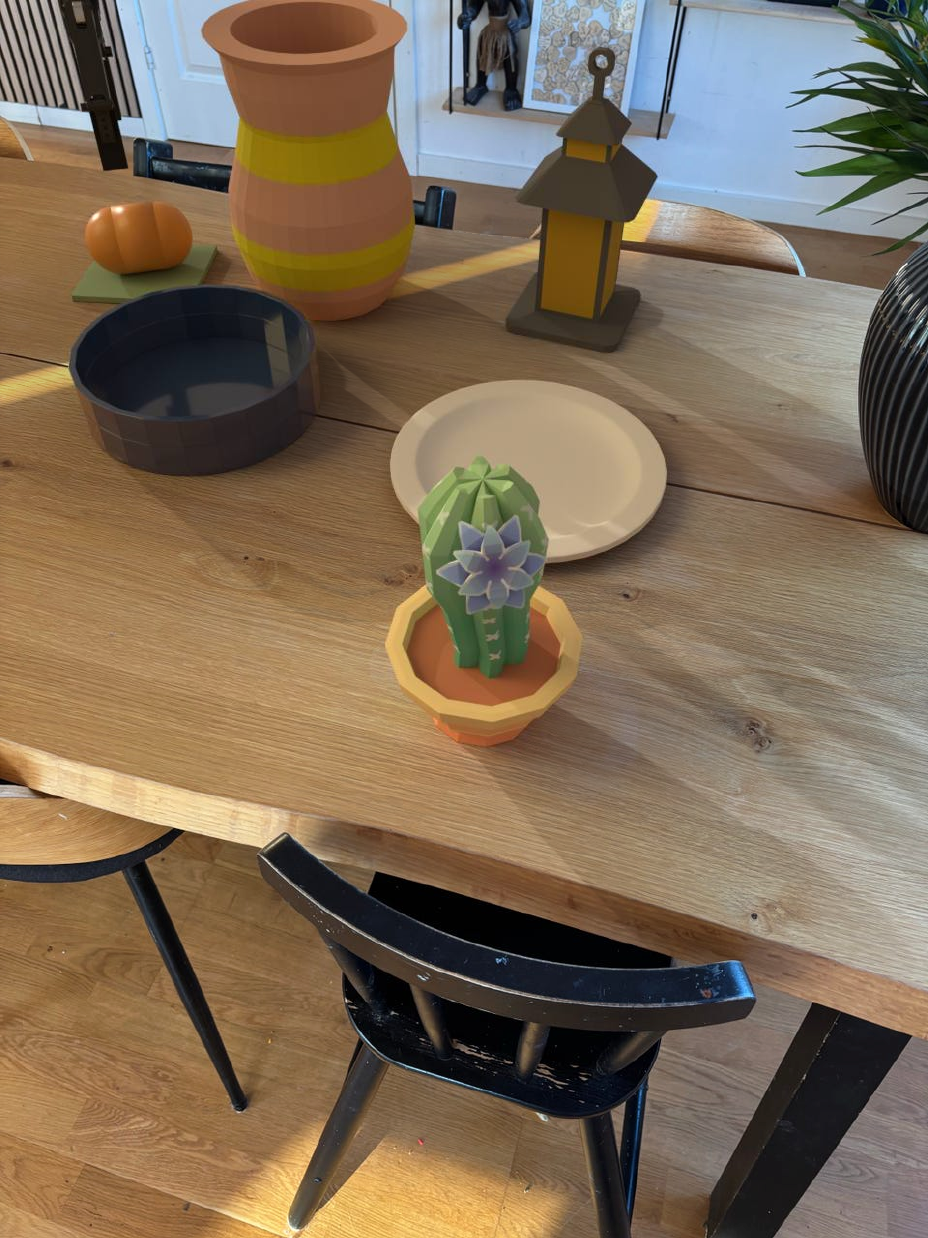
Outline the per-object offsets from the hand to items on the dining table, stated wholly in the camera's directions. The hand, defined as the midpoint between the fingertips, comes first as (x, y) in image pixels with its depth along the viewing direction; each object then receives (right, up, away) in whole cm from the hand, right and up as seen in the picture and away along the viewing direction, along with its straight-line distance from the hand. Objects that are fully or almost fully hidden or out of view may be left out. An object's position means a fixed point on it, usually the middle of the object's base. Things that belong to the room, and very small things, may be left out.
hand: (112, 143), depth 114 cm
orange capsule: (0, -10, +12) cm, 16 cm away
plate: (+47, -41, -13) cm, 64 cm away
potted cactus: (+42, -63, -32) cm, 82 cm away
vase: (+24, -13, +11) cm, 30 cm away
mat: (0, -11, +13) cm, 17 cm away
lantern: (+55, -17, +8) cm, 58 cm away
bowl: (+12, -31, -5) cm, 34 cm away
